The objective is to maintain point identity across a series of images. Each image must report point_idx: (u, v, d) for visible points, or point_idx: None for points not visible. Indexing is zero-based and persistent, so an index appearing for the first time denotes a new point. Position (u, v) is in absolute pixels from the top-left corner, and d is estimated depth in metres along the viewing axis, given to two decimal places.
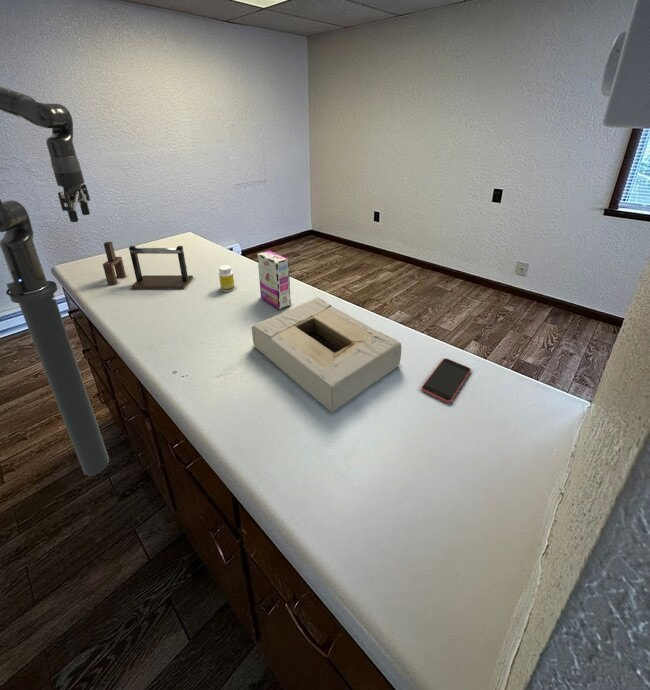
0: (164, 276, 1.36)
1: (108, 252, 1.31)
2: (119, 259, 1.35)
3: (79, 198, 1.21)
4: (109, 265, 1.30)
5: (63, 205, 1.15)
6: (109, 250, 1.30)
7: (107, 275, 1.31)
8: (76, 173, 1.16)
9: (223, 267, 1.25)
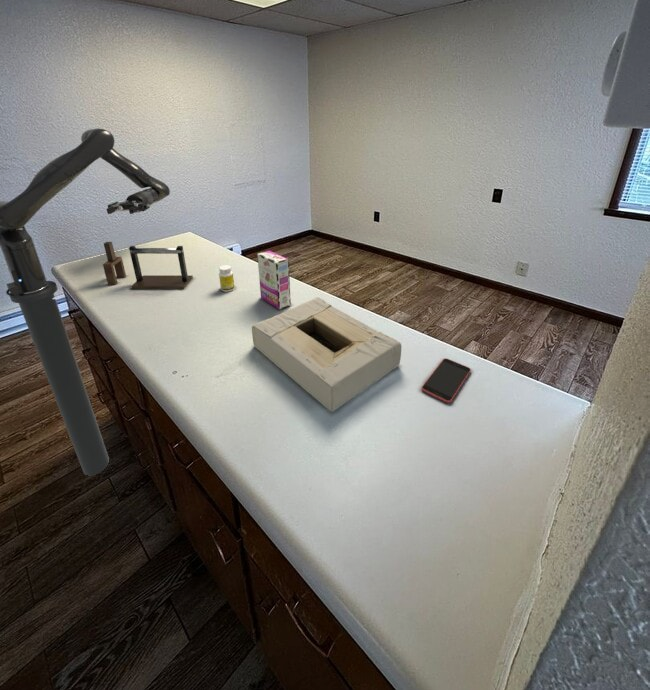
0: (164, 276, 1.36)
1: (108, 252, 1.31)
2: (119, 259, 1.35)
3: (128, 209, 1.44)
4: (109, 265, 1.30)
5: None
6: (109, 250, 1.30)
7: (107, 275, 1.31)
8: None
9: (223, 267, 1.25)
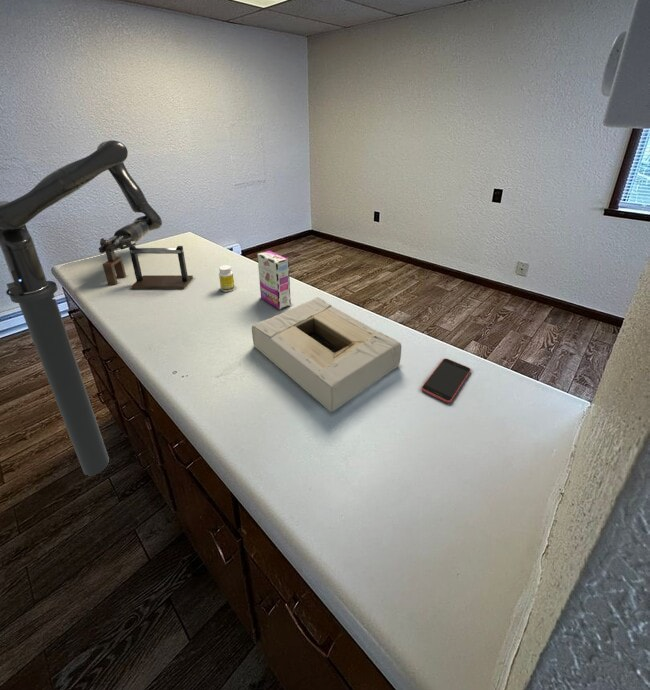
0: (164, 276, 1.36)
1: None
2: (119, 259, 1.35)
3: None
4: (109, 265, 1.30)
5: None
6: None
7: (107, 275, 1.31)
8: None
9: (223, 267, 1.25)
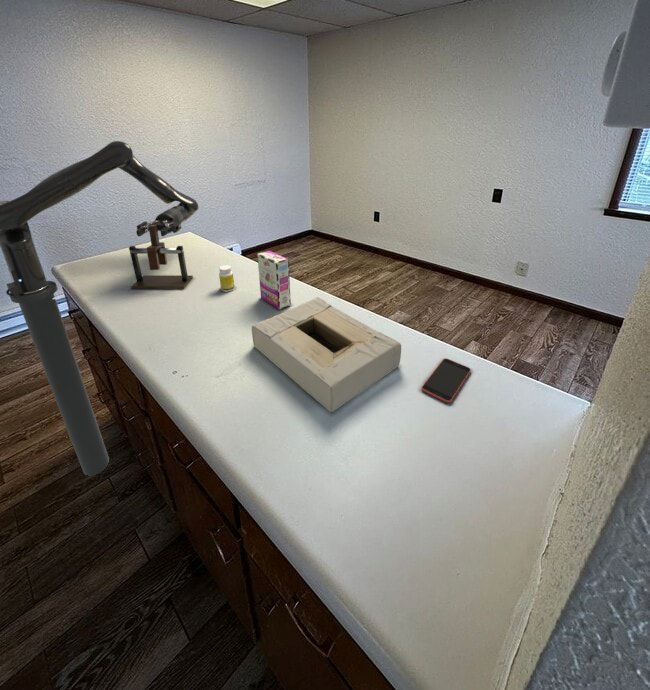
0: (164, 276, 1.36)
1: (152, 236, 1.25)
2: (162, 244, 1.29)
3: None
4: (153, 249, 1.24)
5: None
6: (153, 234, 1.25)
7: (150, 260, 1.25)
8: None
9: (223, 267, 1.25)
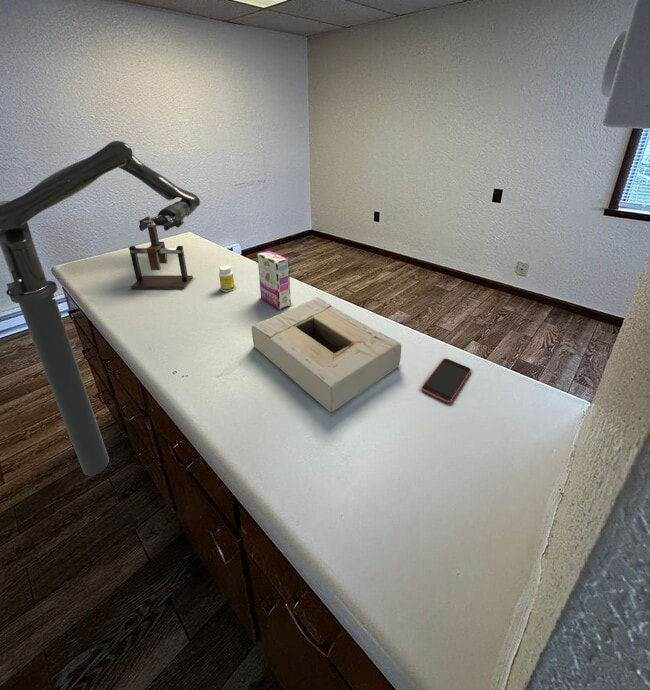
0: (164, 276, 1.36)
1: (152, 236, 1.25)
2: (162, 244, 1.29)
3: None
4: (153, 249, 1.24)
5: None
6: (153, 234, 1.25)
7: (151, 260, 1.26)
8: None
9: (223, 267, 1.25)
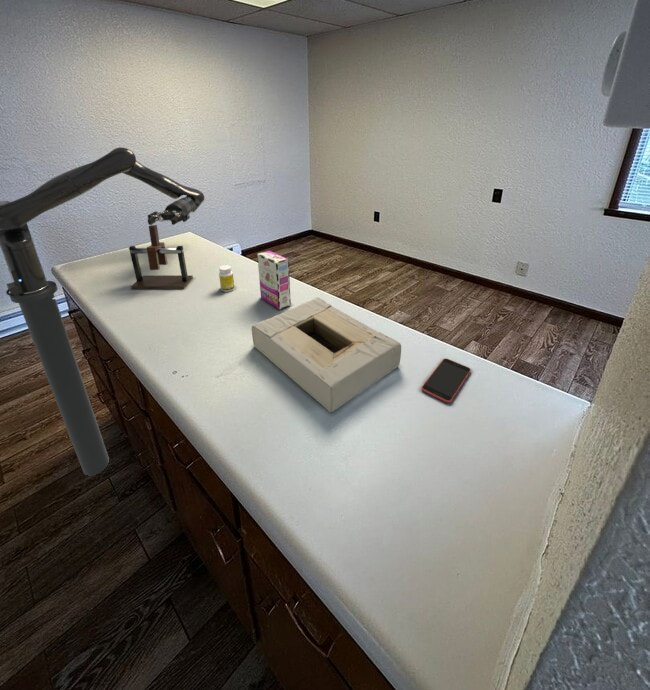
0: (164, 276, 1.36)
1: (152, 236, 1.26)
2: (162, 244, 1.29)
3: (168, 219, 1.38)
4: (153, 248, 1.24)
5: None
6: (153, 234, 1.25)
7: (150, 259, 1.25)
8: None
9: (223, 267, 1.25)
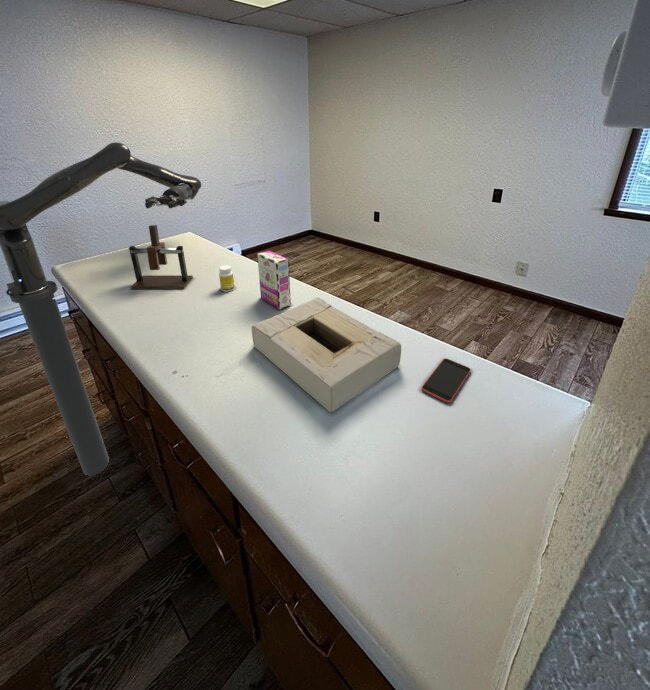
0: (164, 276, 1.36)
1: (152, 236, 1.26)
2: (162, 244, 1.30)
3: (165, 204, 1.41)
4: (153, 248, 1.24)
5: (181, 199, 1.39)
6: (153, 233, 1.25)
7: (150, 259, 1.25)
8: None
9: (223, 267, 1.25)
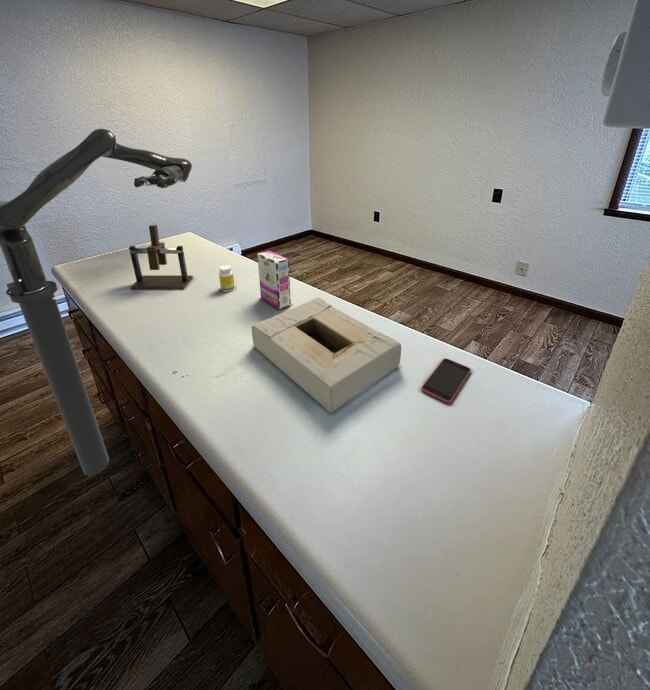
0: (164, 276, 1.36)
1: (152, 236, 1.26)
2: (162, 244, 1.30)
3: (154, 184, 1.39)
4: (153, 248, 1.24)
5: None
6: (154, 233, 1.25)
7: (150, 259, 1.25)
8: None
9: (223, 267, 1.25)
